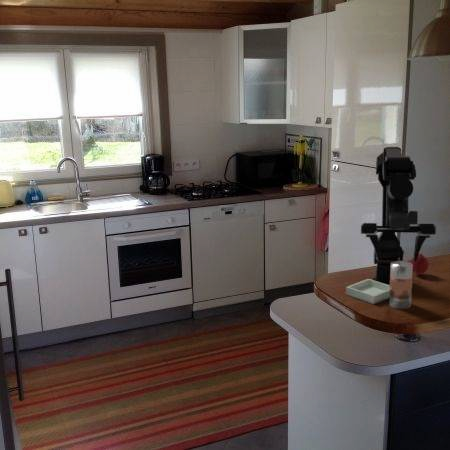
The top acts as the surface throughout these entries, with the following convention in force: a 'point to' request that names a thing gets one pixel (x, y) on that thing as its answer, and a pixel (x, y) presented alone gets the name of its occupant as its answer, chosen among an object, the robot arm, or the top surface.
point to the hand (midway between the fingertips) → (396, 261)
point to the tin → (400, 284)
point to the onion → (420, 264)
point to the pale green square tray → (369, 291)
